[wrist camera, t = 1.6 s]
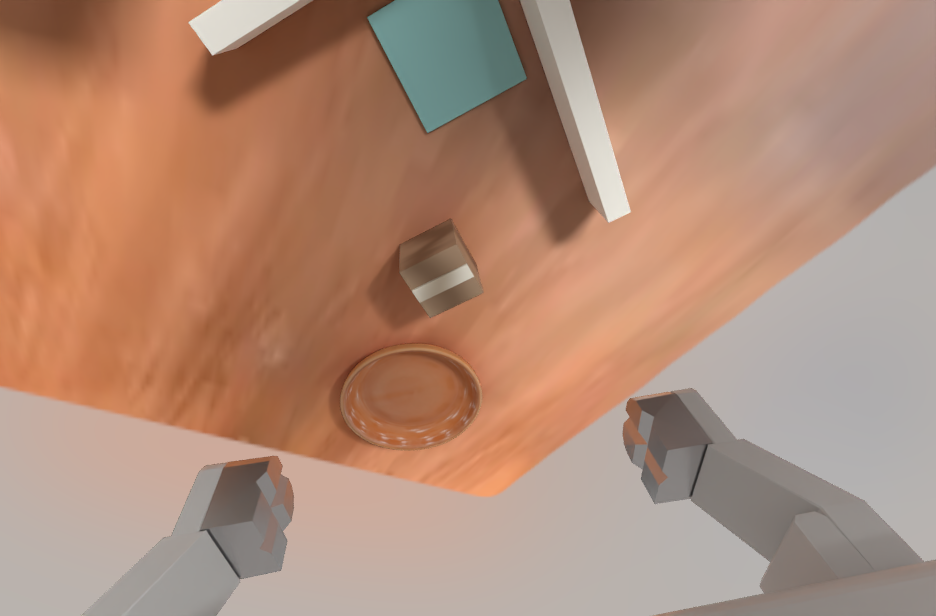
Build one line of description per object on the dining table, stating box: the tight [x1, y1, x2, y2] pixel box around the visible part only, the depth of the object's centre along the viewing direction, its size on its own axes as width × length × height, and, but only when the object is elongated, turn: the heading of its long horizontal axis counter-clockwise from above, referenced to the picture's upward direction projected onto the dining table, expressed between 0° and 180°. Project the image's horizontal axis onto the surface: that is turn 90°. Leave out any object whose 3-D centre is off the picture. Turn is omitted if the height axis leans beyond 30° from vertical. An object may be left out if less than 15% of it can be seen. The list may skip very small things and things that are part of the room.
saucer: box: [340, 343, 482, 450], centre depth 53 cm, size 16×16×3 cm
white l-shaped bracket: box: [188, 0, 631, 223], centre depth 35 cm, size 22×26×5 cm
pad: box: [367, 0, 527, 133], centre depth 35 cm, size 9×9×1 cm
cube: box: [399, 219, 484, 318], centre depth 42 cm, size 6×6×6 cm
